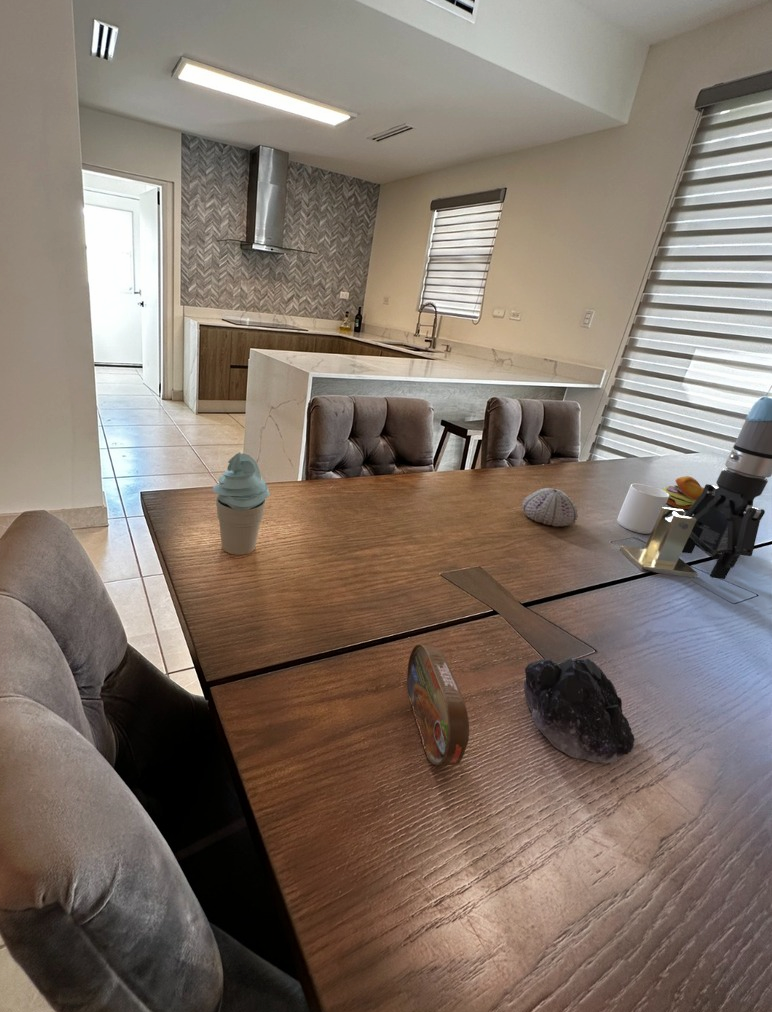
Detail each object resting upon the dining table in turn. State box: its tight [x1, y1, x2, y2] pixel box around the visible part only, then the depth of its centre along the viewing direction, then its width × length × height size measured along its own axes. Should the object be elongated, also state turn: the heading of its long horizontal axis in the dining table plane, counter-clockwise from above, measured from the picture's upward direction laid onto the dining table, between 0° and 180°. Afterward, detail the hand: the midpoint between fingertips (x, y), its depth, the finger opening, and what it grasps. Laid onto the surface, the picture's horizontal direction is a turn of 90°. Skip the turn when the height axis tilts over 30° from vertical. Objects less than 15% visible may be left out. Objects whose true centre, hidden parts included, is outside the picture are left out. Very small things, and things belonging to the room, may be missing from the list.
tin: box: [406, 644, 470, 766], centre depth 57 cm, size 15×3×8 cm, turn 4°
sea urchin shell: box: [521, 487, 579, 527], centre depth 121 cm, size 13×14×8 cm
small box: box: [699, 511, 739, 554], centre depth 117 cm, size 11×6×10 cm, turn 111°
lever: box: [665, 511, 721, 560], centre depth 103 cm, size 13×6×2 cm
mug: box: [617, 483, 669, 535], centre depth 124 cm, size 9×12×11 cm
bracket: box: [619, 506, 699, 579], centre depth 104 cm, size 12×9×13 cm
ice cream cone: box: [212, 451, 271, 556], centre depth 89 cm, size 10×11×20 cm
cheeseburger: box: [661, 475, 704, 510], centre depth 143 cm, size 10×11×10 cm
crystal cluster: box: [523, 657, 635, 764], centre depth 60 cm, size 13×14×10 cm
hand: (700, 564), depth 106 cm, fingers open, 10 cm apart
